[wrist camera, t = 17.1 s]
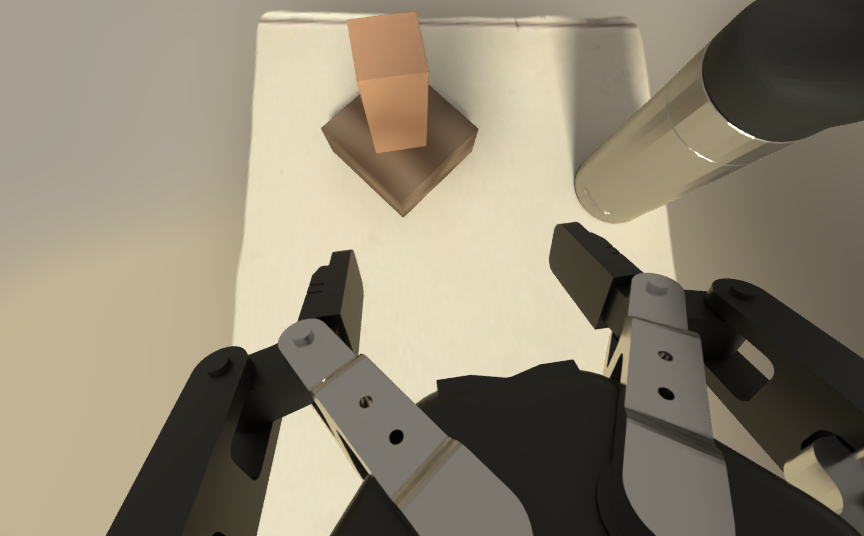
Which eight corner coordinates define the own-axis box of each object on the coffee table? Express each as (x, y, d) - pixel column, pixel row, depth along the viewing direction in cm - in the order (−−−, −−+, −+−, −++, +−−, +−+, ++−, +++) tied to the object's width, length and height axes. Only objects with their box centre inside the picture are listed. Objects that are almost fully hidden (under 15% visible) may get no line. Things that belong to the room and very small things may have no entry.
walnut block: (402, 92, 39) (400, 59, 35) (471, 153, 38) (478, 128, 33) (333, 153, 38) (320, 128, 33) (403, 218, 37) (400, 203, 32)
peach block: (417, 101, 34) (416, 11, 24) (426, 145, 33) (428, 71, 23) (368, 108, 33) (346, 19, 24) (376, 153, 33) (356, 81, 23)
